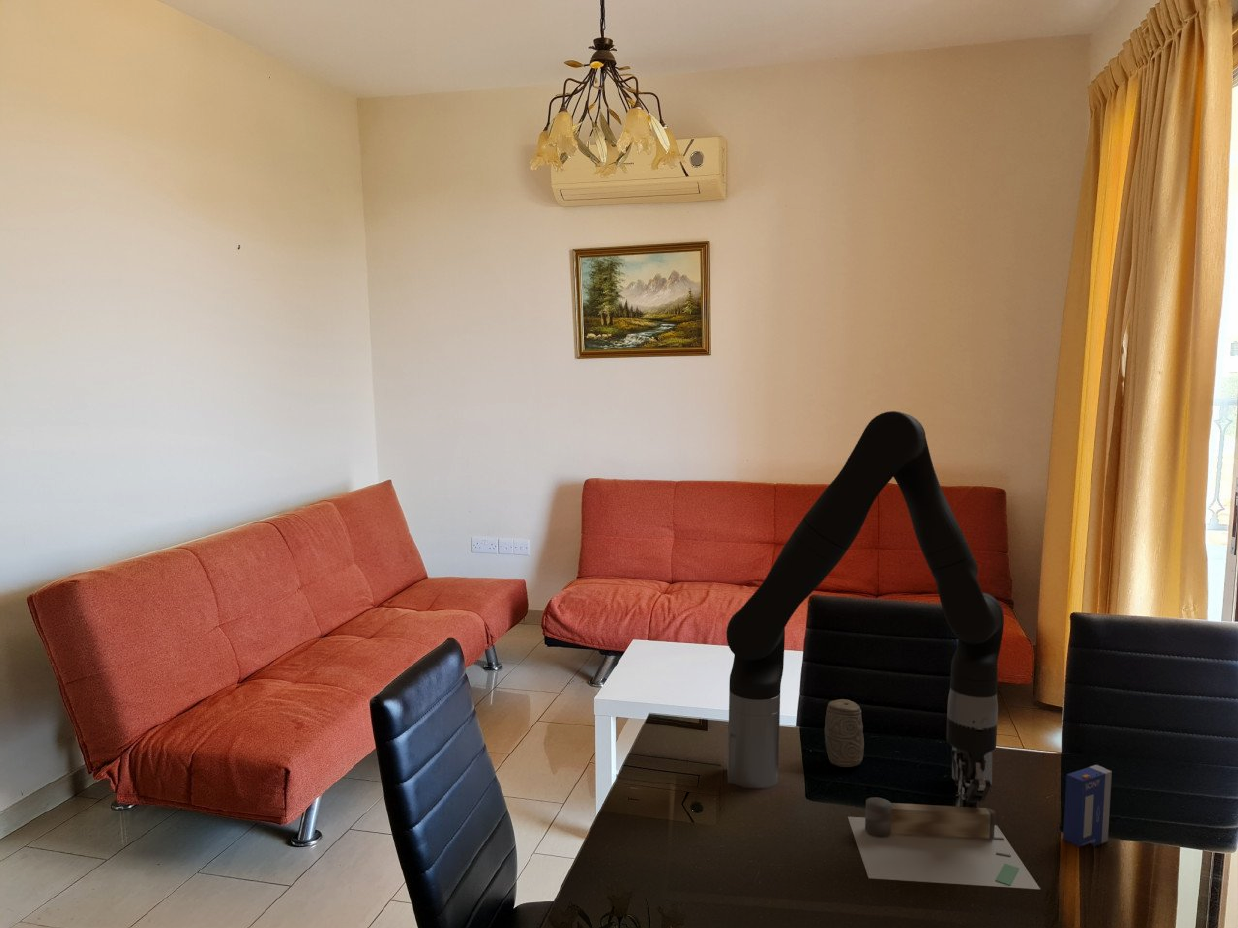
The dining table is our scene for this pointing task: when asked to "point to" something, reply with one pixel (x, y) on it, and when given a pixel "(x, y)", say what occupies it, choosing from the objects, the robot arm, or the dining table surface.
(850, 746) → the carving
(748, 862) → the dining table surface
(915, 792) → the dining table surface
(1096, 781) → the walkman
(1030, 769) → the dining table surface
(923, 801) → the dining table surface
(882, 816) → the pointer lever
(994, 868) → the dial plate
